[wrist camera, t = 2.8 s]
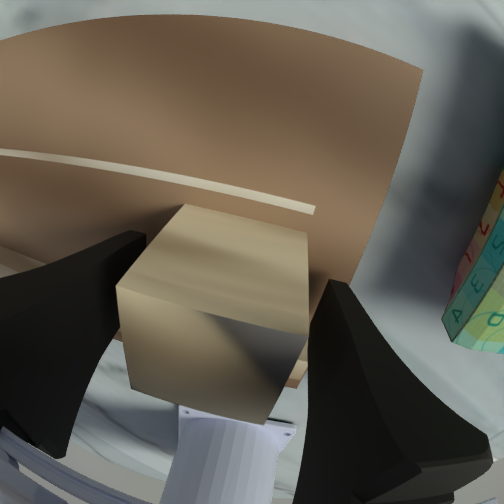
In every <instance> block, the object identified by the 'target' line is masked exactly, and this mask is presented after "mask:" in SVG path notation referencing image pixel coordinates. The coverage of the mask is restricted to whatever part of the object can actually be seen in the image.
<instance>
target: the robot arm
mask: <svg viewBox="0 0 504 504" xmlns="http://www.w3.org/2000/svg"><path fill="white" fill-rule="evenodd" d="M146 235H147V234H145V233H142V232H138V231H134V230H129V231H126V232H123V233H120V234H118V235H116V236H113V237H111V238H109V239H106V240H104V241H102V242H100V243H97V244H95V245H93V246H91V247H88V248H86V249H84V250H82V251H79V252H77V253H74V254H72V255H69V256H67V257H65V258H62V259H60V260H57V261H55V262H52V263H49V264H47V265H44V266H41V267H38V268H35V269H32V270H28V271H25V272H21V273H17V274H13V275H9V276H5V277H1V278H0V504H68V503H67V502H66V501H65V500H63V499H62V498H60V497H58V496H57V495H55V494H53V493H52V492H50V491H48V490H47V489H45V488H44V487H42V486H41V485H39V484H38V483H36V482H35V481H33V480H32V479H30V478H29V477H27V476H26V475H24V474H23V473H21V472H20V471H19V465H18V463H17V462H19V463H20V464H22V465H23V466H25V467H26V468H27V469H29V470H31V471H32V472H34V473H35V474H37V475H38V476H40V477H42V478H43V479H45V480H46V481H48V482H50V483H51V484H53V485H55V486H57V487H58V488H60V489H62V490H64V491H66V492H68V493H69V494H71V495H73V496H75V497H77V498H79V499H81V500H83V501H85V502H87V503H89V504H152V503H149V502H146V501H143V500H141V499H138V498H135V497H132V496H130V495H127V494H125V493H122V492H120V491H117V490H115V489H112V488H110V487H108V486H105V485H103V484H101V483H99V482H96V481H94V480H92V479H90V478H88V477H86V476H84V475H82V474H80V473H78V472H76V471H74V470H72V469H70V468H68V467H67V466H65V465H63V464H61V463H59V462H57V461H56V460H54V459H52V458H51V457H53V458H55V459H59V458H63V457H65V456H66V451H67V447H68V443H69V439H70V436H71V432H72V429H73V425H74V422H75V419H76V416H77V413H78V410H79V407H80V405H81V402H82V399H83V397H84V394H85V392H86V389H87V387H88V384H89V382H90V380H91V378H92V375H93V373H94V371H95V369H96V367H97V365H98V362H99V360H100V359H101V357H102V355H103V353H104V352H105V350H106V348H107V347H108V345H109V344H110V342H111V341H112V339H113V337H114V336H115V334H116V333H117V331H118V330H119V328H120V319H119V311H118V302H117V293H116V285H117V284H118V282H119V281H120V280H121V278H122V277H123V276H124V275H125V273H126V272H127V271H128V270H129V268H130V267H131V266H132V265H133V264H134V262H135V261H136V260H137V259H138V257H139V256H140V255H141V254H142V253H143V251H144V250H145V249H146ZM307 361H308V419H307V427H306V435H305V443H304V449H303V455H302V461H301V467H300V472H299V477H298V482H297V487H296V491H295V495H294V499H293V503H292V504H452V503H453V502H454V491H456V490H458V489H459V488H461V487H463V486H465V485H467V484H468V483H470V482H472V481H473V480H475V479H477V478H478V477H479V476H481V475H483V474H484V473H485V472H486V471H488V470H489V468H490V467H491V465H492V464H493V458H492V453H491V449H490V444H489V440H488V437H487V435H486V434H485V433H483V432H482V431H480V430H479V429H477V428H476V427H475V426H473V425H472V424H470V423H469V422H467V421H466V420H464V419H463V418H462V417H460V416H459V415H458V414H456V413H455V412H454V411H453V410H452V409H450V408H449V407H448V406H447V405H445V404H444V403H443V402H442V401H441V400H440V399H439V398H437V397H436V396H435V395H434V394H433V393H432V392H431V391H430V390H429V389H428V388H427V387H426V386H425V385H424V384H423V383H422V382H421V381H420V380H419V379H418V378H417V377H416V376H415V375H414V374H413V373H412V372H411V370H410V369H409V368H408V367H407V366H406V365H405V364H404V362H403V361H402V360H401V359H400V358H399V357H398V355H397V354H396V353H395V352H394V350H393V349H392V348H391V346H390V345H389V344H388V342H387V341H386V340H385V339H384V337H383V336H382V334H381V333H380V332H379V330H378V329H377V327H376V326H375V325H374V323H373V322H372V320H371V319H370V317H369V316H368V314H367V313H366V311H365V310H364V308H363V307H362V305H361V304H360V302H359V300H358V299H357V297H356V296H355V294H354V293H353V291H352V290H351V288H350V287H349V286H348V284H347V283H345V282H341V281H337V280H333V279H329V280H328V282H327V285H326V287H325V289H324V292H323V294H322V297H321V299H320V301H319V304H318V306H317V308H316V311H315V313H314V315H313V318H312V320H311V322H310V328H309V337H308V347H307ZM296 432H297V426H296V425H294V424H289V423H283V422H277V421H271V420H266V422H265V424H264V425H258V424H253V423H248V422H244V421H239V420H234V419H230V418H226V417H222V416H218V415H214V414H210V413H206V412H202V411H198V410H195V409H191V408H188V407H184V406H181V405H179V413H178V446H177V450H176V453H175V456H174V459H173V462H172V465H171V468H170V472H169V475H168V478H167V481H166V484H165V487H164V491H163V494H162V497H161V501H160V503H159V504H271V502H272V496H273V488H274V481H275V473H276V465H277V457H278V454H279V453H280V452H281V451H282V450H283V448H284V447H285V446H286V445H287V443H288V442H289V441H290V440H291V438H292V437H293V436H294V435H295V433H296ZM28 443H29V444H31V445H32V446H34V447H35V448H38V449H40V450H41V451H43V452H45V453H46V454H48V455H50V456H51V457H49V456H47V455H45V454H44V453H42V452H40V451H39V450H37V449H35V448H34V447H32V446H31V445H29V444H28ZM477 504H498V502H497V498H492V499H489V500H486V501H483V502H480V503H477Z"/></svg>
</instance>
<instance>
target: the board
mask: <svg viewBox="0 0 504 504" xmlns="http://www.w3.org/2000/svg"><path fill="white" fill-rule="evenodd" d="M422 73H423V70H422V69H420V68H418V67H415V66H413V65H411V64H408V63H406V62H404V61H401V60H399V59H396V58H394V57H391V56H389V55H386V54H383V53H381V52H378V51H375V50H372V49H369V48H367V47H364V46H361V45H357V44H354V43H351V42H348V41H345V40H341V39H338V38H334V37H331V36H327V35H323V34H319V33H315V32H311V31H307V30H303V29H298V28H293V27H288V26H283V25H278V24H272V23H266V22H260V21H253V20H246V19H238V18H228V17H217V16H203V15H135V16H121V17H110V18H101V19H93V20H86V21H80V22H74V23H68V24H63V25H58V26H53V27H48V28H44V29H40V30H36V31H32V32H28V33H24V34H21V35H17V36H14V37H11V38H7V39H4V40H1V41H0V278H1V277H5V276H9V275H13V274H17V273H21V272H25V271H28V270H32V269H35V268H38V267H41V266H44V265H47V264H49V263H52V262H55V261H57V260H60V259H62V258H65V257H67V256H69V255H72V254H74V253H77V252H79V251H82V250H84V249H86V248H88V247H91V246H93V245H95V244H97V243H100V242H102V241H104V240H106V239H109V238H111V237H113V236H116V235H118V234H120V233H123V232H126V231H129V230H134V231H138V232H142V233H145V234H147V235H146V248H147V247H148V246H149V244H150V243H151V242H152V241H153V240H154V238H155V237H156V236H157V235H158V234H159V233H160V231H161V230H162V229H163V228H164V227H165V226H166V225H167V223H168V222H169V221H170V220H171V219H172V218H173V217H174V215H175V214H176V213H177V212H178V211H179V210H180V209H181V208H182V206H183V205H184V204H188V205H193V206H197V207H202V208H206V209H210V210H215V211H219V212H223V213H228V214H232V215H236V216H240V217H245V218H249V219H253V220H257V221H261V222H265V223H269V224H273V225H278V226H282V227H286V228H290V229H294V230H298V231H302V232H305V233H307V241H308V280H309V328H310V322H311V320H312V318H313V315H314V313H315V311H316V308H317V306H318V304H319V301H320V299H321V297H322V294H323V292H324V289H325V287H326V285H327V282H328V280H329V279H333V280H337V281H341V282H345V283H347V284H348V286H349V284H350V282H351V280H352V278H353V275H354V273H355V271H356V269H357V266H358V264H359V262H360V259H361V257H362V255H363V252H364V250H365V248H366V245H367V243H368V240H369V238H370V235H371V233H372V230H373V228H374V225H375V223H376V220H377V218H378V215H379V212H380V210H381V207H382V204H383V202H384V199H385V196H386V193H387V191H388V188H389V185H390V182H391V179H392V176H393V174H394V171H395V168H396V165H397V162H398V159H399V156H400V152H401V149H402V146H403V143H404V140H405V136H406V133H407V130H408V126H409V123H410V119H411V116H412V112H413V109H414V105H415V101H416V97H417V94H418V90H419V86H420V82H421V77H422ZM113 339H116V340H119V341H121V342H123V340H122V334H121V327H120V328H119V330H118V331H117V333H116V334H115V336H114V337H113ZM307 347H308V339H307V341H306V344H305V346H304V348H303V350H302V352H301V354H300V356H299V358H298V360H297V362H296V364H295V366H294V368H293V370H292V372H291V374H290V376H289V378H288V380H287V382H286V384H285V387H291V388H296V389H297V387H298V385H299V383H300V381H301V380H302V378H303V376H304V374H305V372H306V371H307V369H308V361H307Z"/></svg>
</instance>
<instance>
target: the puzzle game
mask: <svg viewBox="0 0 504 504" xmlns="http://www.w3.org/2000/svg"><path fill="white" fill-rule="evenodd" d="M441 320H442V322H443V324H444V326H445V329H446V331H447V333H448V335H449V338H450V340H451V342H453V343H455V344H458V345H461V346H463V347H466V348H468V349H471V350H478V351H486V352H493V353H501V354H504V166H503V169H502V171H501V174H500V177H499V179H498V182H497V185H496V187H495V190H494V192H493V194H492V197H491V199H490V202H489V204H488V206H487V209H486V211H485V213H484V215H483V217H482V220H481V222H480V224H479V226H478V228H477V230H476V232H475V234H474V236H473V238H472V240H471V242H470V244H469V246H468V248H467V250H466V252H465V254H464V256H463V258H462V259H461V261H460V263H459V265H458V267H457V271H456V276H455V280H454V284H453V288H452V292H451V296H450V299H449V302H448V304H447V307H446V309H445V312H444V314H443V317H442V319H441Z"/></svg>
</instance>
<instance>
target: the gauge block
mask: <svg viewBox="0 0 504 504" xmlns="http://www.w3.org/2000/svg"><path fill="white" fill-rule="evenodd" d="M116 293H117V302H118V311H119V319H120V327H121V334H122V340H123V347H124V353H125V359H126V365H127V370H128V375H129V380H130V385H131V389H133V390H136V391H138V392H141V393H144V394H147V395H150V396H153V397H156V398H159V399H162V400H165V401H168V402H171V403H174V404H178V405H181V406H184V407H188V408H191V409H195V410H198V411H202V412H206V413H210V414H214V415H218V416H222V417H226V418H230V419H234V420H239V421H244V422H248V423H253V424H258V425H264V424H265V422H266V420H267V418H268V416H269V415H270V413H271V411H272V409H273V407H274V405H275V403H276V402H277V400H278V398H279V396H280V394H281V392H282V390H283V388H284V386H285V384H286V382H287V380H288V378H289V376H290V374H291V372H292V370H293V368H294V366H295V364H296V362H297V360H298V358H299V356H300V354H301V352H302V350H303V348H304V346H305V344H306V341H307V339H308V337H309V280H308V241H307V233H305V232H302V231H298V230H294V229H290V228H286V227H282V226H278V225H273V224H269V223H265V222H261V221H257V220H253V219H249V218H245V217H240V216H236V215H232V214H228V213H223V212H219V211H215V210H210V209H206V208H202V207H197V206H193V205H188V204H184V205H183V206H182V208H181V209H180V210H179V211H178V212H177V213H176V214H175V215H174V217H173V218H172V219H171V220H170V221H169V222H168V223H167V225H166V226H165V227H164V228H163V229H162V230H161V231H160V233H159V234H158V235H157V236H156V237H155V238H154V240H153V241H152V242H151V243H150V244H149V246H148V247H147V248H146V249H145V250H144V251H143V253H142V254H141V255H140V256H139V257H138V259H137V260H136V261H135V262H134V264H133V265H132V266H131V267H130V268H129V270H128V271H127V272H126V273H125V275H124V276H123V277H122V278H121V280H120V281H119V282H118V284H117V285H116Z"/></svg>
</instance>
